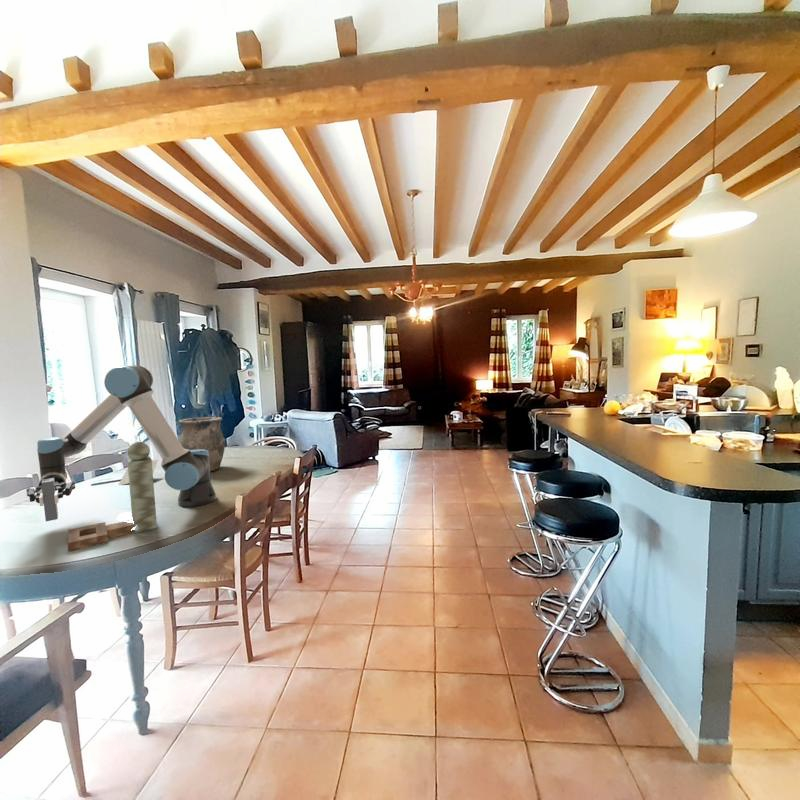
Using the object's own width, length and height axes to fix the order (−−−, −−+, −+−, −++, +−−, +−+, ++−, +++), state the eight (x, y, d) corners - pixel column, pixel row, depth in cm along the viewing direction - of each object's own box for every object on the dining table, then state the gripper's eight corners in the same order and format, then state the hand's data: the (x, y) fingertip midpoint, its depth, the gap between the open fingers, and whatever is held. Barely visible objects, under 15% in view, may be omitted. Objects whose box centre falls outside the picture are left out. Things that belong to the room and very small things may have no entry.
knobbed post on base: (153, 519, 162) (146, 438, 159) (158, 530, 151) (151, 443, 148) (69, 537, 147) (60, 448, 143) (68, 551, 136) (58, 454, 132)
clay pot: (234, 467, 240) (231, 416, 237) (197, 477, 220) (193, 422, 217) (210, 463, 251) (207, 414, 248) (173, 472, 231) (169, 419, 228)
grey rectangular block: (58, 514, 141) (54, 477, 139) (57, 519, 137) (53, 481, 135) (46, 517, 139) (42, 479, 138) (45, 521, 135) (41, 482, 134)
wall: (159, 487, 217) (164, 464, 227) (151, 478, 211) (156, 455, 221) (127, 494, 216) (133, 470, 226) (117, 485, 209) (124, 461, 219)
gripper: (81, 489, 156) (81, 505, 138) (24, 498, 147) (16, 518, 128) (79, 470, 156) (79, 484, 137) (21, 478, 146) (13, 494, 127)
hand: (48, 500), depth 133 cm, fingers closed on grey rectangular block, 3 cm apart
